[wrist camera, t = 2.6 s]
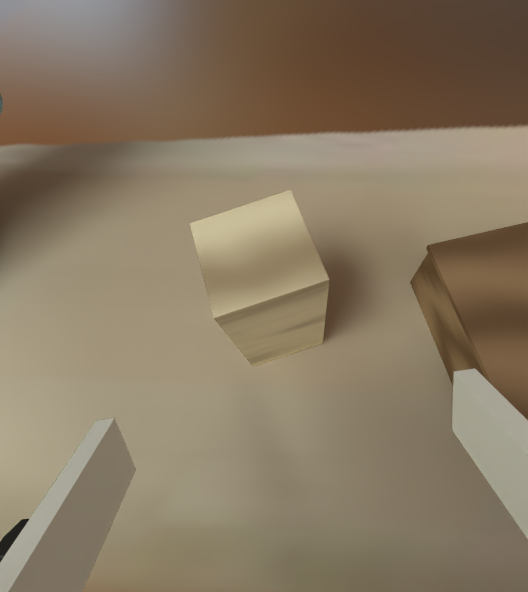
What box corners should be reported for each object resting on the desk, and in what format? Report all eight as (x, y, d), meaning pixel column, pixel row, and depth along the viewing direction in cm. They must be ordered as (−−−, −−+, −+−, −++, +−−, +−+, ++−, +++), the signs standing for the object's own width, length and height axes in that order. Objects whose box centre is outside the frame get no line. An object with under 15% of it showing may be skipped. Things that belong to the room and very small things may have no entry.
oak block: (234, 302, 30) (189, 223, 19) (298, 281, 30) (290, 189, 19) (253, 366, 27) (213, 317, 17) (322, 343, 27) (329, 279, 17)
